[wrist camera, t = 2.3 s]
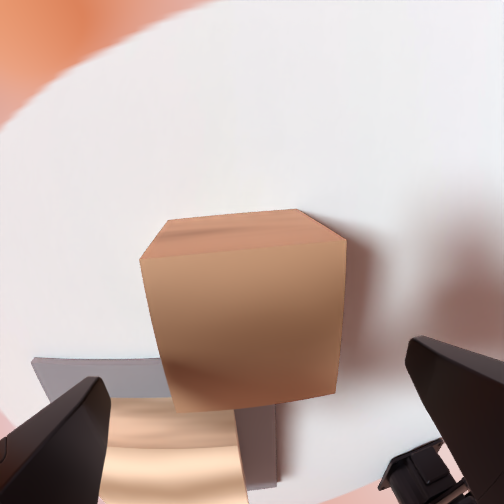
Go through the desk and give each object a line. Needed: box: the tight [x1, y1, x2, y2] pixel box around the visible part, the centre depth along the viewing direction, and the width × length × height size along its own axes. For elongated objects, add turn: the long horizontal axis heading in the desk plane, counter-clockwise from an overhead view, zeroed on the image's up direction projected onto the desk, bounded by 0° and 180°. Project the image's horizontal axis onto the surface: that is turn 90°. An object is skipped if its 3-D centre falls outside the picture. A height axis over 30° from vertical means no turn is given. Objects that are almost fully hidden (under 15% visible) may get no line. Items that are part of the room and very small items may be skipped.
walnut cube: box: [139, 209, 347, 413], centre depth 12 cm, size 6×6×6 cm
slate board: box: [31, 358, 277, 491], centre depth 18 cm, size 15×15×1 cm
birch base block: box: [99, 397, 249, 504], centre depth 16 cm, size 10×10×4 cm
